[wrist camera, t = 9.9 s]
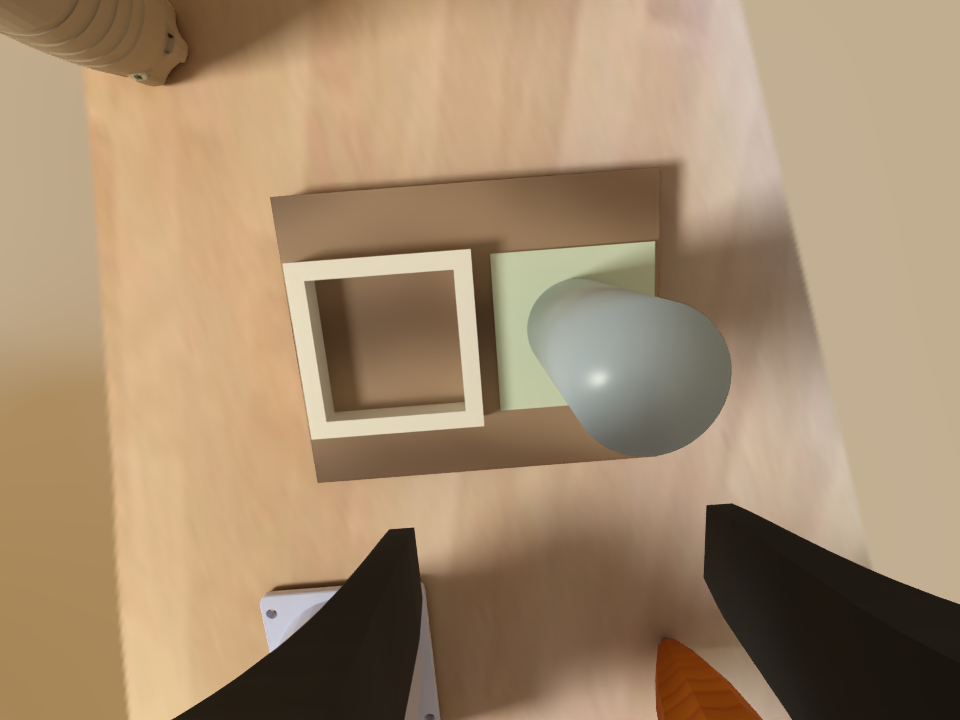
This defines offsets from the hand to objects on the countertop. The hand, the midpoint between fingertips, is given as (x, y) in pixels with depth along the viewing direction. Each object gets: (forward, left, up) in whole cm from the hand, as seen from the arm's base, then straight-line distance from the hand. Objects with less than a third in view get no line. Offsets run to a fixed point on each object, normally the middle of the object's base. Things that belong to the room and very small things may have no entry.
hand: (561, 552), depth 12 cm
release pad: (+4, -2, -9) cm, 10 cm away
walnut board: (+4, +2, -10) cm, 11 cm away
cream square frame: (+4, +5, -9) cm, 11 cm away
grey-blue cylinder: (+4, -2, -9) cm, 10 cm away
